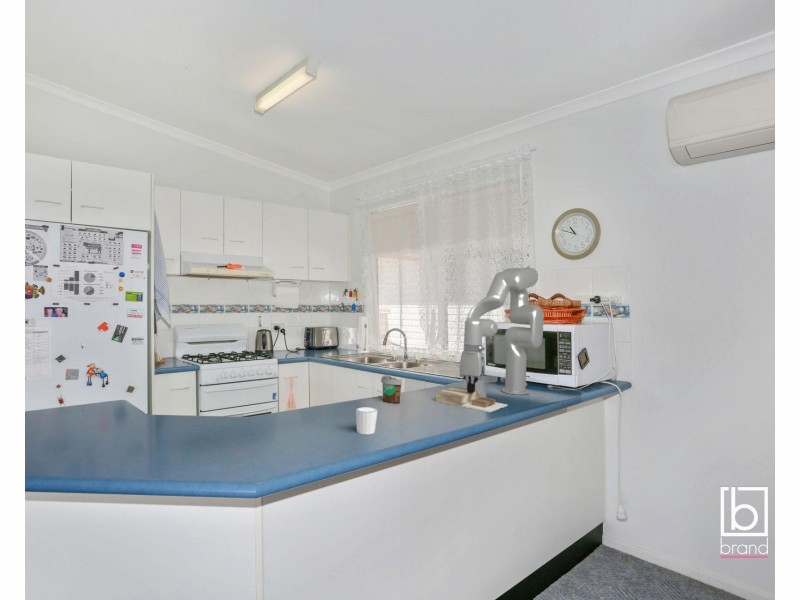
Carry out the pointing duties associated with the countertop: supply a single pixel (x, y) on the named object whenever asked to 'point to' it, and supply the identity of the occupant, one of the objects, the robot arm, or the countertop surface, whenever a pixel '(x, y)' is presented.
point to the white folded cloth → (487, 409)
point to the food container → (391, 389)
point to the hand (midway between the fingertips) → (470, 392)
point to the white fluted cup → (366, 420)
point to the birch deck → (456, 396)
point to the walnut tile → (483, 402)
